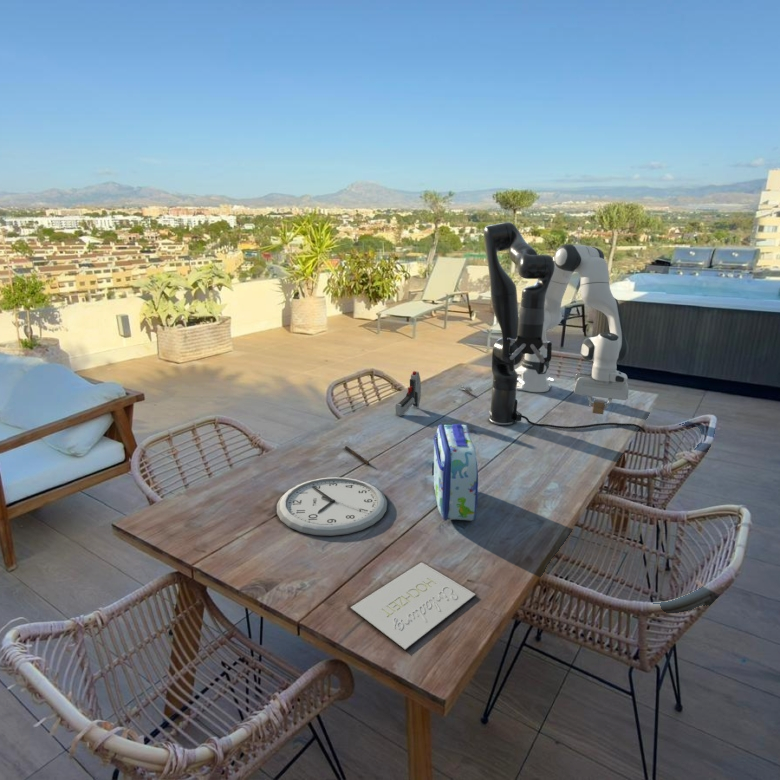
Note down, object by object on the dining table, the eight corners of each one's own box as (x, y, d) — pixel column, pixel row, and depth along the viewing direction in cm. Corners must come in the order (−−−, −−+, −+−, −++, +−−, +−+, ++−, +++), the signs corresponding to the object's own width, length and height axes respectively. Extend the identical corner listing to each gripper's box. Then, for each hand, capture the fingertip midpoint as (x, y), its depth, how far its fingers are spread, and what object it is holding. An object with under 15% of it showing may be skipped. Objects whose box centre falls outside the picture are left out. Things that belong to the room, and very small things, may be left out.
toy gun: (394, 379, 206) (416, 369, 217) (395, 417, 212) (416, 405, 223) (399, 380, 205) (420, 370, 216) (400, 418, 211) (421, 406, 222)
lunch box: (430, 480, 157) (433, 415, 151) (465, 481, 157) (470, 415, 151) (436, 527, 133) (440, 452, 126) (478, 528, 133) (484, 453, 126)
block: (592, 409, 214) (594, 398, 212) (603, 410, 213) (604, 399, 211) (592, 413, 210) (594, 401, 208) (603, 414, 208) (604, 403, 207)
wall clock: (392, 527, 129) (268, 531, 127) (391, 533, 130) (269, 537, 127) (383, 473, 158) (282, 475, 155) (383, 478, 158) (282, 480, 156)
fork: (470, 397, 235) (470, 393, 235) (457, 387, 250) (457, 383, 249) (475, 396, 236) (476, 392, 236) (462, 386, 251) (462, 382, 250)
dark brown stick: (344, 448, 179) (344, 445, 179) (346, 448, 179) (346, 445, 179) (367, 464, 167) (367, 462, 167) (368, 464, 167) (368, 461, 167)
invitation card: (421, 561, 119) (475, 593, 109) (421, 562, 119) (475, 594, 109) (350, 606, 104) (405, 648, 94) (350, 608, 104) (405, 649, 94)
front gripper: (505, 321, 160) (501, 372, 165) (554, 325, 155) (548, 377, 160) (509, 318, 167) (505, 367, 172) (555, 321, 162) (550, 371, 167)
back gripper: (575, 373, 207) (571, 406, 211) (631, 379, 200) (626, 413, 204) (576, 369, 213) (571, 401, 217) (630, 375, 206) (625, 408, 210)
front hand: (526, 372), depth 166 cm, fingers open, 8 cm apart
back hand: (598, 407), depth 211 cm, fingers closed on block, 4 cm apart
